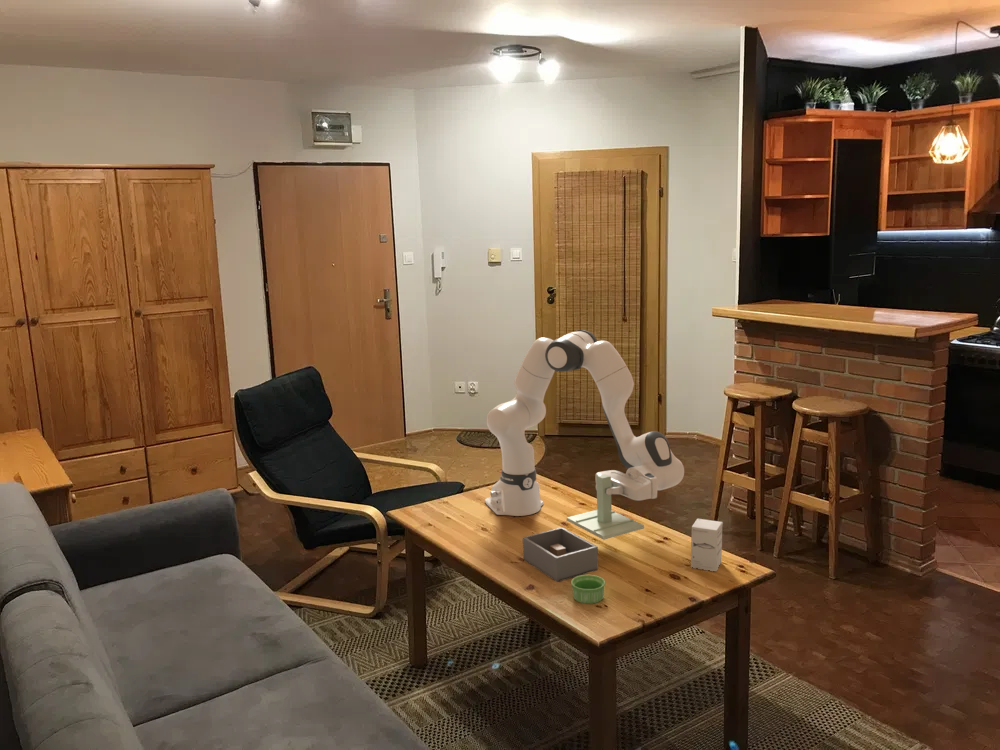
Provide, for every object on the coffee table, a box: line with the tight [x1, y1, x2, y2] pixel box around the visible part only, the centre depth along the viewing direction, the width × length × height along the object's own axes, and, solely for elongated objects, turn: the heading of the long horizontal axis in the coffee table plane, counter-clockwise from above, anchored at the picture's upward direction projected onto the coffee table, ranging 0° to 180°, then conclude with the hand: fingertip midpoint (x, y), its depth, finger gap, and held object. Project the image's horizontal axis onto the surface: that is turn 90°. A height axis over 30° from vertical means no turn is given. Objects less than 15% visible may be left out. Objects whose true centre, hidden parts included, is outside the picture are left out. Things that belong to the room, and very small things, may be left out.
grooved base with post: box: [566, 474, 645, 541], centre depth 235 cm, size 19×15×15 cm
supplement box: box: [690, 518, 724, 572], centre depth 225 cm, size 7×7×13 cm
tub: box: [522, 526, 599, 583], centre depth 230 cm, size 18×14×7 cm
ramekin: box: [570, 574, 606, 605], centre depth 210 cm, size 9×9×4 cm
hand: (601, 489), depth 234 cm, fingers closed on grooved base with post, 3 cm apart
